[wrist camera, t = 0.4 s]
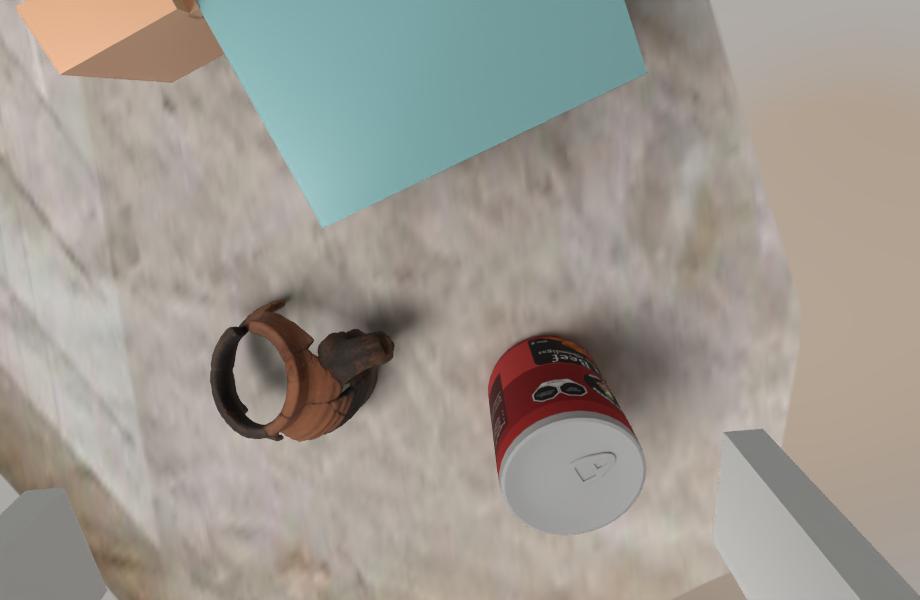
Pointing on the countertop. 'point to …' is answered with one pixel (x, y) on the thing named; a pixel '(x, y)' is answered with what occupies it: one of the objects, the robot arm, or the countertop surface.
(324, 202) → the lid
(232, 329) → the broken clay pot
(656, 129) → the countertop surface
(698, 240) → the countertop surface
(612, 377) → the countertop surface
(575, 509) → the canned food
